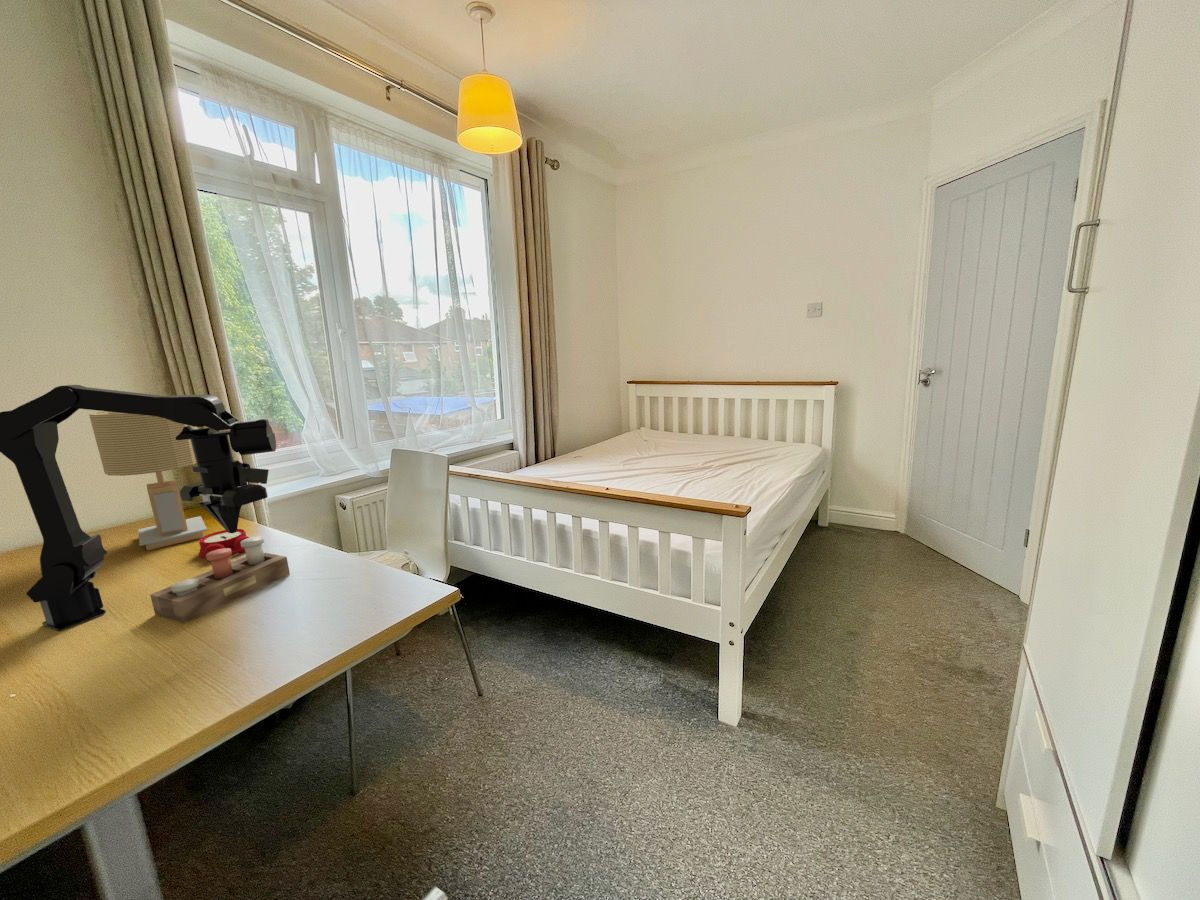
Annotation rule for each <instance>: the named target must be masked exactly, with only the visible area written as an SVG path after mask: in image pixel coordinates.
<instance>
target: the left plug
mask: <svg viewBox="0 0 1200 900" xmlns="http://www.w3.org/2000/svg"><path fill="white" fill-rule="evenodd" d="M199 585H200V584H199V580H198V579H191V578H189V579H184V580H181V581H179V582H176V583H174V584H172V585H171V586H172V587H171V589H172V593H176V594H177V596H179V597H181V596H183V595H185V594H188V593H190V592H193V591H195V590H197V587H198V586H199Z"/></svg>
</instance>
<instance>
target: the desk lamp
mask: <svg viewBox="0 0 1200 900" xmlns="http://www.w3.org/2000/svg"><path fill="white" fill-rule="evenodd" d="M88 416H89V420H90V423H91V427H92V430H93V435H94V438H95V442H96V445H97V446H96V447H97V449H98V452H99V453H98V454H99V457H100V461H101V464H102V469H103V472H104V474H105V475H107V476H115V477H117V476H120V477H121V476H122V477H123V476H125V477H126V476H132V475H133V476H135V475H136V476H137V475H145V474H152V473H155V477H156V480H157V482H153V483H152V482H151V483H146V488H147V489H146V491H147V495H148V498H149V502H150V503H149V504H150V506H151V510H152V514H153V518H154V523H155V525H152V526H148V527H143V528H139V529H138V543H139V544H138V545H139V547H141V546H145V547H146V550H147V551H150V550H155V549H159V548H164V547H166V546H167V547H168V546H171V545H176V544H179V543H184V542H189V541H193V540H197V539H200V538H202V537H204V533H203V532H208V528H207V526H206V524H205V522H204V520H203V518H202V516H201V515H199V516H195V517H194V516H193V517H191V518H186V517H185V512H184V507H183V504H182V499H181V495H180V490H179V487H178V485H177V481H176V480H175V479H171V480H165V479H164V475H163V472H166V471H170V470H177V469H181V468H186V467H191V466H195V465H197V463H196V459H195V455H194V451H193V447H192V443H191V439H186V440H176V439H175V438H176V436H178V435H179V434H180V433H181V432H182V430H183V428H184V427H186V426H190V425H185V424H181V423H177V422H173V421H170V420H167V419H165V418H161V417H157V416H149V415H139V414H129V413H119V412H108V411H97V412H91V413H89V414H88ZM191 427H192V428H194V429H199V427H194V426H191Z"/></svg>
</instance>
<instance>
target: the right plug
mask: <svg viewBox="0 0 1200 900" xmlns="http://www.w3.org/2000/svg"><path fill="white" fill-rule="evenodd" d="M264 539H265V538H264V536H261V535H259V536H258V535H257V536H251V537H250V538H247V539H244V540H242V541H241V542H240V543H241V547H243V548H245V557H247V562H248V565H256V564H260V563H262V562H264V561H265V558H264V553H265V552H264V549H263V543H265V540H264Z"/></svg>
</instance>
